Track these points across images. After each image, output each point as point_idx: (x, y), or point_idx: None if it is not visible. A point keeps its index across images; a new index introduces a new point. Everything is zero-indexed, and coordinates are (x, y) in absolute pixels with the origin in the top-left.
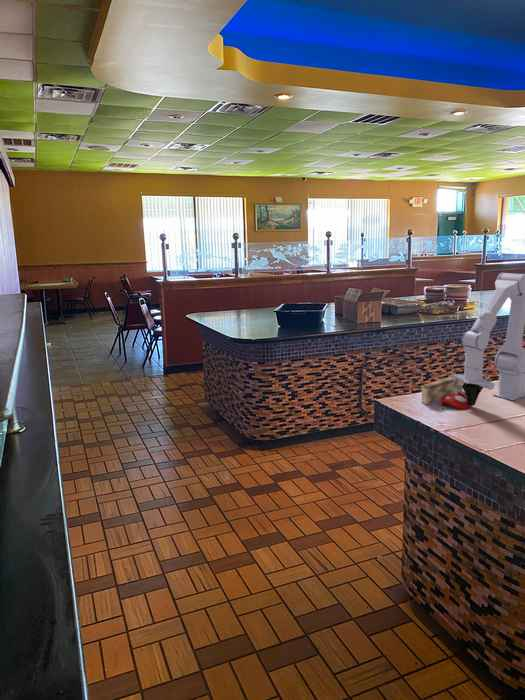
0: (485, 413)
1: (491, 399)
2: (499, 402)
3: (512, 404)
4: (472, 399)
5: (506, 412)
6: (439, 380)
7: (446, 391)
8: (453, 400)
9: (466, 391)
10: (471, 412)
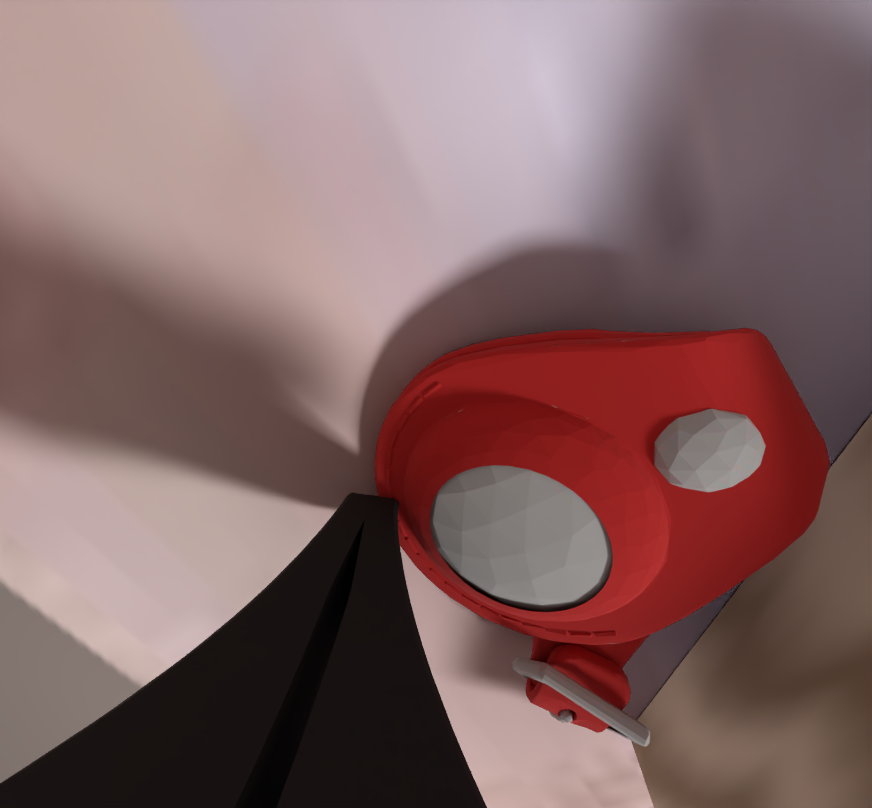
0: (152, 422)
1: None
2: None
3: None
4: (296, 558)
5: (76, 554)
6: None
7: (791, 675)
8: (586, 434)
9: (370, 699)
10: (271, 351)
